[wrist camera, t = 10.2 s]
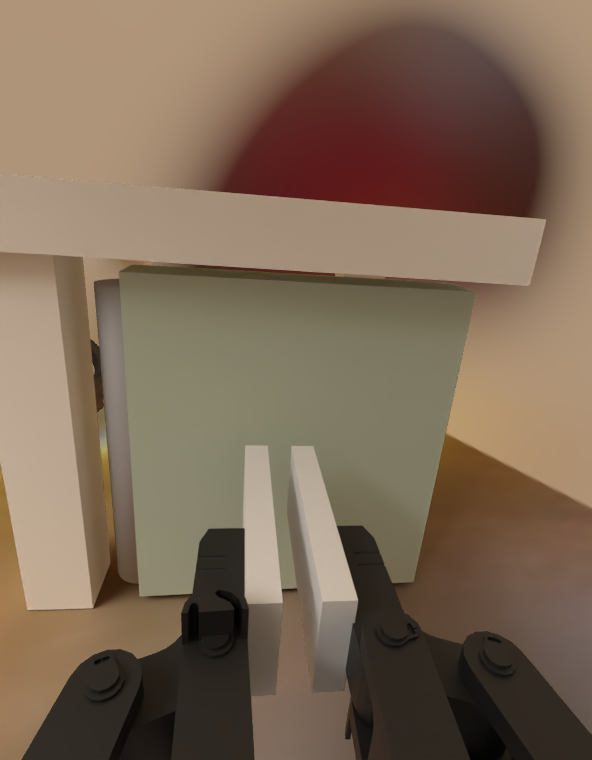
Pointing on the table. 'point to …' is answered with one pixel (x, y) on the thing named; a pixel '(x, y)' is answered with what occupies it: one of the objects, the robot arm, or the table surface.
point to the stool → (142, 246)
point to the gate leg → (271, 405)
